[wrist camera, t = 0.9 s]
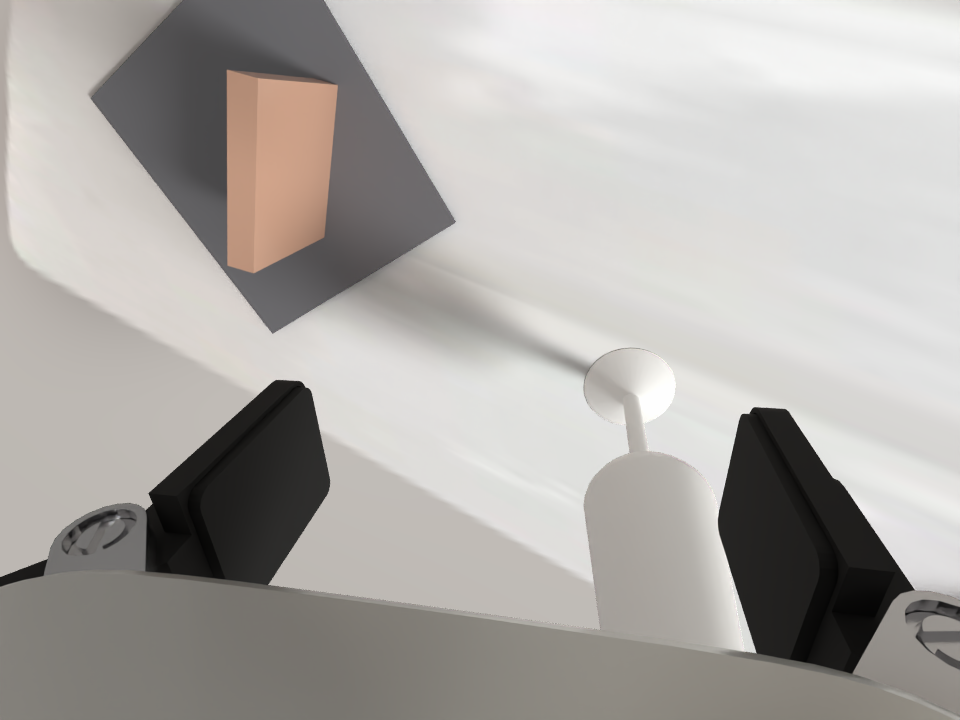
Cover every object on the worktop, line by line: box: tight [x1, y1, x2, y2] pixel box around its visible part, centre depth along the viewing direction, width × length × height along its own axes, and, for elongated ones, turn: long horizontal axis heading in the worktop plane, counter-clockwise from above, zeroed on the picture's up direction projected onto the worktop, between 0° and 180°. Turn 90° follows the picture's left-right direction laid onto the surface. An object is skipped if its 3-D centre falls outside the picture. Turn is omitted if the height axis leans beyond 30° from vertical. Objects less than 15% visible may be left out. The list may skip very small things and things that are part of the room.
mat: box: [91, 0, 456, 333], centre depth 35 cm, size 20×18×1 cm
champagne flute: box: [584, 348, 745, 652], centre depth 28 cm, size 7×7×24 cm
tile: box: [227, 70, 338, 273], centre depth 31 cm, size 10×2×9 cm, turn 167°
